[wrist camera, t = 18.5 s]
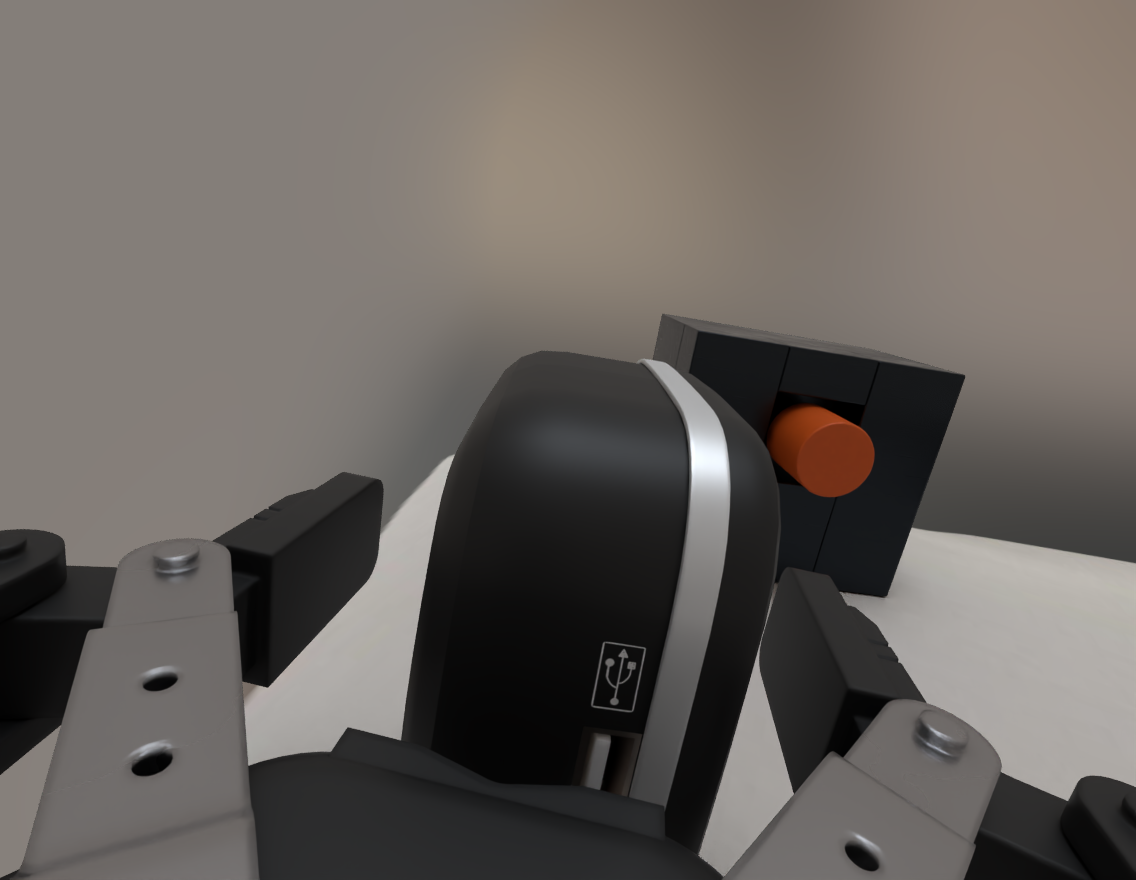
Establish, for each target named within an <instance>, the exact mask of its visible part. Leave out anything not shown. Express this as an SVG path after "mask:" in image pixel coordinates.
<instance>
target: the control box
mask: <svg viewBox="0 0 1136 880" xmlns="http://www.w3.org/2000/svg"><path fill="white" fill-rule="evenodd" d="M653 360H654V361H660V362H664V363H667V364H668V365H669V366H671V367H672V368H673V369H674V370H679V371H683V372H686V373H689V374H692V375H693V376H695V377H696V378H697V379H699V380H700V381H701V382H703V383H704V384H705V385H707V386H708V387H709V388H711V389H712V390H713V391H715V392H716V393H717V394H718V395H719V396H721V397H722V398H723V399H724V400H725V401H726V402H727V403H728V404H729V405H730V406H731V407H732V408H733V409H734V410H735V411H736V412H737V413H738V414H739V415H740V416H741V417H742V418H743V419H744V420H745V421H746V422H747V423H748V424H749V425H750V426H751V427H752V428H753V429H754V430H755V431H756V432H757V434H758V436H759V437H760V439H761V440H762V442H763V443H764V445H765V446H766V448H767V433H768V429H769V427H770V425H771V423H772V421H773V420H774V418H775V417H776V416H777V415H778V414H779V413H780V412H781V411H783V410H784V409H786V408H787V407H789V406H792V405H795V404H798V403H813V404H816V405H819V406H821V407H823V408H825V409H827V410H828V411H830V412H832V413H834V414H836V415H838V416H840V417H842V418H843V419H845V420H847V421H849V422H851V423H853V424H855V425H857V426H858V427H860V428H861V429H863V430H864V431H865V432H866V433H867V434H868V436H869V437H870V439H871V441H872V443H873V447H874V463H873V467H872V469H871V472H870V473H869V475H868V477H867V478H866V480H865V481H864V482H863V483H862V484H861V485H860V486H859V487H857V488H856V489H855V490H853V491H851V492H849V493H847V494H845V495H842V496H837V497H823V496H818V495H816V494H813V493H811V492H810V491H808V490H807V489H806V488H805V487H804V486H802V485H801V484H800V483H799V482H798V481H797V480H796V479H794V478H793V477H792V476H791V475H790V474H789V473H788V472H786V471H785V470H784V469H783V468H782V467H781V466H780V465H778V464H777V463H776V462H775V461H774V460H773V458H772V457H771V456H770V457H771V461H772V464H773V468H774V472H775V476H776V480H777V483H778V487H779V494H780V516H781V534H780V543H779V553H778V562H777V571H776V577H775V582H779V580H780V577H781V575H782V573H783V571H784V570H785V569H786V568H787V567H791V568H796V569H801V570H805V571H810V572H815V573H820V574H824V575H828V576H830V578H831V579H832V581H833V582H834V584H835V586H836V587H837V589H838V590H840V591H847V592H855V593H862V594H870V595H878V596H885V597H886V596H887V595H888V592H889V589H890V586H891V583H892V581H893V578H894V575H895V572H896V569H897V567H898V564H899V561H900V558H901V556H902V553H903V550H904V547H905V544H906V542H907V539H908V536H909V533H910V530H911V528H912V525H913V522H914V519H915V516H916V513H917V511H918V508H919V505H920V502H921V500H922V497H923V494H924V491H925V488H926V486H927V483H928V480H929V477H930V474H931V472H932V469H933V466H934V463H935V460H936V458H937V455H938V452H939V449H940V446H941V444H942V441H943V438H944V435H945V433H946V430H947V427H948V424H949V421H950V419H951V416H952V413H953V410H954V407H955V405H956V402H957V399H958V396H959V393H960V391H961V388H962V385H963V382H964V379H965V375H963V374H960V373H956V372H952V371H949V370H944V369H941V368H938V367H934V366H930V365H927V364H924V363H920V362H916V361H913V360H909V359H905V358H902V357H898V356H894V355H891V354H887V353H884V352H880V351H876V350H873V349H869V348H862V347H857V346H851V345H845V344H839V343H833V342H827V341H821V340H815V339H809V338H804V337H798V336H792V335H786V334H780V333H774V332H768V331H762V330H756V329H751V328H744V327H739V326H733V325H727V324H721V323H715V322H709V321H703V320H697V319H691V318H686V317H680V316H674V315H667V314H662V318H661V322H660V327H659V332H658V337H657V342H656V347H655V351H654V356H653ZM767 450H768V448H767Z"/></svg>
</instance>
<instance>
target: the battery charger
mask: <svg viewBox="0 0 1136 880" xmlns="http://www.w3.org/2000/svg"><path fill="white" fill-rule="evenodd" d="M780 534H781V516H780V494H779V487H778V483H777V480H776V476H775V472H774V468H773V464H772V461H771V457H770V454H769V451H768V450H767V448H766V446H765V445H764V443H763V442H762V440H761V439H760V437H759V436H758V434H757V432H756V431H755V430H754V429H753V428H752V427H751V426H750V425H749V424H748V423H747V422H746V421H745V420H744V419H743V418H742V417H741V416H740V415H739V414H738V413H737V412H736V411H735V410H734V409H733V408H732V407H731V406H730V405H729V404H728V403H727V402H726V401H725V400H724V399H723V398H722V397H721V396H719V395H718V394H717V393H716V392H715V391H713V390H712V389H711V388H709V387H708V386H707V385H705V384H704V383H703V382H701V381H700V380H699V379H697V378H696V377H695V376H693V375H692V374H689V373H686V372H683V371H679V370H674V369H673V368H672V367H671V366H669V365H668V364H667V363H664V362H660V361H654V360H647V359H640V360H639V361H638V362H637V364H636V363H630V362H624V361H618V360H611V359H605V358H600V357H594V356H588V355H582V354H576V353H570V352H556V351H554V352H553V351H540V352H536V353H533V354H530V355H527V356H524V357H521V358H520V359H519V360H517V361H516V362H515V363H514V364H512V365H511V366H510V367H509V368H507V369H506V370H505V371H504V373H503V374H502V376H501V377H500V379H499V380H498V382H497V384H496V385H495V386H494V388H493V389H492V391H491V393H490V394H489V396H488V397H487V399H486V400H485V402H484V403H483V405H482V407H481V408H480V410H479V411H478V413H477V415H476V417H475V419H474V421H473V422H472V424H471V426H470V428H469V429H468V431H467V433H466V435H465V437H464V439H463V441H462V442H461V444H460V446H459V448H458V450H457V452H456V454H455V456H454V459H453V461H452V464H451V467H450V470H449V472H448V476H447V479H446V483H445V487H444V490H443V494H442V498H441V502H440V507H439V511H438V516H437V520H436V525H435V530H434V536H433V541H432V546H431V552H430V557H429V563H428V568H427V574H426V580H425V585H424V591H423V596H422V602H421V608H420V614H419V620H418V627H417V633H416V639H415V645H414V651H413V657H412V664H411V671H410V678H409V684H408V691H407V698H406V705H405V713H404V722H403V730H402V738H401V741H405V742H409V743H413V744H417V745H421V746H424V747H426V748H428V749H430V750H432V751H434V752H436V753H438V754H440V755H441V756H443V757H445V758H447V759H449V760H451V761H453V762H455V763H457V764H459V765H461V766H463V767H465V768H467V769H469V770H471V771H473V772H475V773H477V774H479V775H481V776H483V777H485V778H487V779H489V780H491V781H493V782H497V783H501V784H525V785H563V786H586V787H590V788H594V789H598V790H602V791H606V792H610V793H614V794H618V795H622V796H626V797H630V798H634V799H638V800H642V801H646V802H650V803H654V804H658V805H662V806H664V813H665V836H666V837H668V838H670V839H672V840H674V841H676V842H678V843H679V844H681V845H683V846H684V847H686V848H687V849H689V850H690V851H692V852H694V853H695V854H696V855H699V852H700V848H701V845H702V842H703V839H704V835H705V832H706V829H707V825H708V822H709V819H710V816H711V812H712V809H713V806H714V803H715V799H716V796H717V793H718V789H719V786H720V783H721V779H722V776H723V772H724V769H725V765H726V762H727V759H728V755H729V752H730V748H731V745H732V741H733V738H734V734H735V731H736V727H737V724H738V720H739V717H740V713H741V709H742V706H743V702H744V699H745V695H746V692H747V688H748V685H749V681H750V677H751V674H752V670H753V666H754V663H755V659H756V656H757V652H758V648H759V645H760V641H761V637H762V634H763V630H764V626H765V622H766V618H767V613H768V609H769V604H770V600H771V595H772V591H773V586H774V582H775V577H776V571H777V562H778V553H779V543H780Z"/></svg>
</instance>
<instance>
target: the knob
mask: <svg viewBox="0 0 1136 880" xmlns="http://www.w3.org/2000/svg"><path fill="white" fill-rule="evenodd" d="M767 448H768V451H769V454H770V456H771V457H772V458H773V460H774V461H775V462H776V463H777V464H778V465H780V466H781V467H782V468H783V469H784V470H785V471H786V472H788V473H789V474H790V475H791V476H792V477H793V478H794V479H796V480H797V481H798V482H799V483H800V484H801V485H802V486H804V487H805V488H806V489H807V490H808V491H810V492H811V493H813V494H816V495H818V496H823V497H837V496H842V495H845V494H847V493H849V492H851V491H853V490H855V489H856V488H857V487H859V486H860V485H861V484H862V483H863V482H864V481H865V480H866V478H867V477H868V475H869V473H870V472H871V469H872V467H873V463H874V447H873V443H872V441H871V439H870V437H869V436H868V434H867V433H866V432H865V431H864V430H863V429H861V428H860V427H858V426H857V425H855V424H853V423H851V422H849V421H847V420H845V419H843V418H842V417H840V416H838V415H836V414H834V413H832V412H830V411H828V410H827V409H825V408H823V407H821V406H819V405H816V404H813V403H798V404H795V405H792V406H789V407H787V408H786V409H784V410H783V411H781V412H780V413H779V414H778V415H777V416H776V417H775V418H774V420H773V421H772V423H771V425H770V427H769V429H768V433H767Z"/></svg>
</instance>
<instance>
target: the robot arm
mask: <svg viewBox="0 0 1136 880" xmlns="http://www.w3.org/2000/svg"><path fill="white" fill-rule="evenodd" d="M382 504H383V484H382V482H381V480H379V479H375V478H370V477H365V476H361V475H356V474H351V473H347V472H342V473H340V474H338V475H337V476H335V477H334V478H332V479H330V480H329V481H327V482H326V483H324V484H323V485H321V486H319V487H318V488H316V489H315V490H313V489H311V490H307V491H303V492H300V493H296V494H293V495H289V496H286V497H284V498H283V499H281V500H279V501H278V502H276V503H274V504H273V505H271V506H270V507H269V509H265V510H263V511H261V512H260V513H258V514H256V515H255V516H254V518H250V519H248V520H246V521H245V522H243V523H241V524H240V525H238V526H236V527H235V528H233V529H231V530H230V531H228V532H226V533H225V534H223V535H221V536H220V537H218V538H216V539H215V540H213V541H208V540H202V539H172V540H166V541H160V542H156V543H152V544H148V545H145V546H142V547H140V548H138V549H135V550H134V551H132V552H130V553H128V554H127V555H126V556H124V558H122V560H121V561H120V562H119V565H118V568H115V567H89V566H66V556H65V544H64V540H63V539H62V538H61V537H60V536H58V535H56V534H53V533H50V532H46V531H40V530H29V529H27V530H26V529H20V530H18V529H17V530H4V531H0V775H1V774H2V773H3V772H4V771H5V770H7V769H8V768H9V767H10V766H12V765H13V764H14V763H15V762H17V761H18V760H19V759H20V758H21V757H23V756H24V755H25V754H26V753H27V752H29V751H30V750H31V749H32V748H34V746H36V745H37V744H38V743H39V742H41V741H42V740H43V739H44V738H46V737H47V736H48V735H49V734H51V733H52V732H53V731H54V730H55V729H57V728H58V727H59V726H60V725H61V728H60V732H59V735H58V739H57V743H56V746H55V750H54V753H53V757H52V760H51V764H50V768H49V771H48V775H47V778H46V782H45V786H44V789H43V793H42V796H41V800H40V803H39V807H38V811H37V814H36V818H35V821H34V825H33V828H32V832H31V836H30V839H29V843H28V846H27V850H26V853H25V857H24V860H23V863H22V865H21V867H20V869H19V870H17V871H15V872H12V873H10V874H8V875H6V876H4V877H1V878H0V880H1136V787H1134V786H1131V785H1129V784H1126V783H1124V782H1121V781H1118V780H1114V779H1111V778H1106V777H1102V776H1086V777H1084V778H1081V779H1080V780H1079V781H1078V783H1077V785H1076V787H1075V789H1074V791H1073V793H1072V795H1071V797H1070V799H1069V801H1066V800H1063V799H1061V798H1059V797H1056V796H1054V795H1052V794H1049V793H1047V792H1045V791H1042V790H1040V789H1038V788H1035V787H1033V786H1031V785H1028V784H1026V783H1024V782H1021V781H1019V780H1017V779H1014V778H1012V777H1010V776H1008V775H1006V774H1004V773H1002V772H1001V768H1002V765H1001V760H1000V758H999V756H998V754H997V752H996V751H995V749H994V748H993V746H992V745H991V744H990V743H989V742H988V741H987V740H986V739H985V738H984V737H983V736H982V735H981V734H980V733H979V732H978V731H976V730H975V729H974V728H973V727H971V726H970V725H969V724H967V723H966V722H964V721H963V720H961V719H959V718H958V717H956V716H954V715H953V714H951V713H949V712H947V711H945V710H943V709H940V708H938V707H936V706H933V705H930V704H927V703H926V701H925V700H924V698H923V696H922V695H921V693H920V692H919V690H918V689H917V687H916V686H915V684H914V683H913V681H912V679H911V678H910V676H909V675H908V673H907V672H906V670H905V669H904V667H903V665H902V664H901V663H898V658H897V656H896V655H895V653H894V652H893V650H892V648H891V647H888V642H887V641H886V639H885V638H884V636H883V635H882V633H881V631H880V630H879V628H878V627H877V625H876V624H874V623H873V622H872V621H871V620H870V619H868V618H867V617H866V616H865V615H864V614H862V613H861V612H860V611H859V610H858V609H857V608H855V607H852V606H847V604H846V603H845V601H844V599H843V597H842V596H841V594H840V592H839V591H838V589H837V587H836V586H835V584H834V582H833V581H832V579H831V578H830V576H828V575H824V574H820V573H815V572H810V571H805V570H801V569H796V568H791V567H787V568H786V569H785V570H784V571H783V573H782V575H781V577H780V580H779V584H778V587H777V590H776V594H775V597H774V600H773V604H772V607H771V610H770V614H769V617H768V620H767V624H766V627H765V630H764V634H763V637H762V641H761V647H760V656H759V665H760V672H761V676H762V680H763V684H764V687H765V691H766V694H767V698H768V702H769V705H770V709H771V713H772V716H773V720H774V723H775V727H776V731H777V734H778V738H779V742H780V745H781V749H782V752H783V756H784V760H785V763H786V767H787V771H788V774H789V778H790V782H791V785H792V789H793V792H794V795H793V796H792V797H791V798H790V800H789V801H788V802H787V803H786V804H785V805H784V807H783V808H782V809H781V810H780V811H779V813H778V814H777V815H776V816H775V817H774V818H773V820H772V821H771V822H770V823H769V824H768V826H767V827H766V828H765V829H764V830H763V831H762V833H761V834H760V835H759V836H758V837H757V839H756V840H755V841H754V842H753V843H752V845H751V846H750V847H749V848H748V849H747V850H746V852H745V853H744V854H743V855H742V856H741V858H740V859H739V860H738V861H737V862H736V863H735V865H734V866H733V867H732V868H731V869H730V871H729V872H728V873H727V874H726V875H725V876H724V877H723V876H722V875H721V874H720V873H719V872H718V871H716V870H715V869H714V868H713V867H712V866H711V865H709V864H708V863H707V862H706V861H704V860H703V859H702V858H700V857H699V856H698V855H696V854H695V853H694V852H692V851H690V850H689V849H687V848H686V847H684V846H683V845H681V844H679V843H678V842H676V841H674V840H672V839H670V838H668V837H666V836H665V813H664V806H662V805H658V804H654V803H650V802H646V801H642V800H638V799H634V798H630V797H626V796H622V795H618V794H614V793H610V792H606V791H602V790H598V789H594V788H590V787H586V786H563V785H525V784H501V783H497V782H493V781H491V780H489V779H487V778H485V777H483V776H481V775H479V774H477V773H475V772H473V771H471V770H469V769H467V768H465V767H463V766H461V765H459V764H457V763H455V762H453V761H451V760H449V759H447V758H445V757H443V756H441V755H440V754H438V753H436V752H434V751H432V750H430V749H428V748H426V747H424V746H421V745H417V744H413V743H409V742H405V741H401V740H397V739H393V738H389V737H385V736H381V735H377V734H372V733H368V732H364V731H360V730H356V729H352V728H347V729H346V731H345V732H344V733H343V735H342V736H341V738H340V739H339V741H338V742H337V744H336V745H335V747H334V748H333V750H332V751H331V752H311V753H300V754H294V755H288V756H282V757H277V758H273V759H270V760H266V761H262V762H258V763H256V764H253V765H250V766H248V757H247V743H246V729H245V714H244V700H243V686H242V681H243V682H247V683H251V684H255V685H259V686H263V687H267V688H268V687H269V686H270V685H271V684H272V683H273V682H274V681H275V680H276V678H277V677H278V676H279V675H280V674H281V673H282V672H283V671H284V670H285V669H286V668H287V667H288V666H289V665H290V663H291V662H292V661H293V660H294V659H295V658H296V657H297V656H298V655H299V654H300V653H301V652H302V651H303V650H304V648H305V647H306V646H307V645H308V644H309V643H310V642H311V641H312V640H313V639H314V638H315V637H316V636H317V635H318V633H319V632H320V631H321V630H322V629H323V628H324V627H325V626H326V625H327V624H328V623H329V622H330V621H331V620H332V618H333V617H334V616H335V615H336V614H337V613H338V612H339V611H340V610H341V609H342V608H343V607H344V606H345V605H346V603H347V602H348V601H349V600H350V599H351V598H352V597H353V596H354V595H355V594H356V593H357V592H358V591H359V590H360V588H361V587H362V586H363V585H364V584H365V583H366V582H367V581H368V579H369V578H370V576H371V574H372V572H373V570H374V567H375V564H376V561H377V557H378V550H379V539H380V527H381V515H382Z"/></svg>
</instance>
